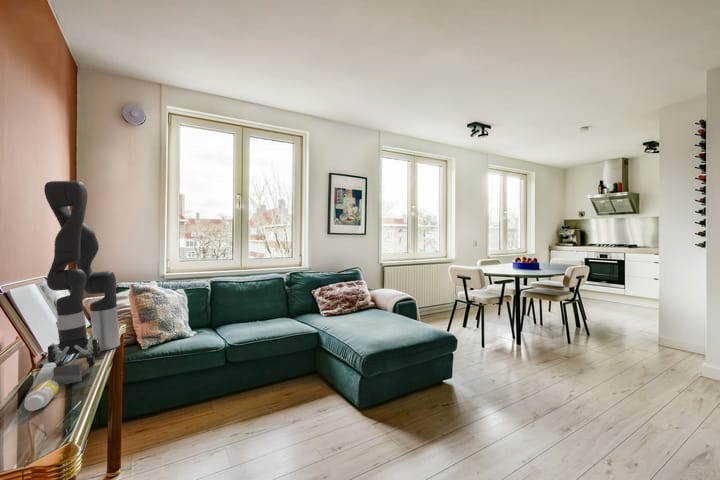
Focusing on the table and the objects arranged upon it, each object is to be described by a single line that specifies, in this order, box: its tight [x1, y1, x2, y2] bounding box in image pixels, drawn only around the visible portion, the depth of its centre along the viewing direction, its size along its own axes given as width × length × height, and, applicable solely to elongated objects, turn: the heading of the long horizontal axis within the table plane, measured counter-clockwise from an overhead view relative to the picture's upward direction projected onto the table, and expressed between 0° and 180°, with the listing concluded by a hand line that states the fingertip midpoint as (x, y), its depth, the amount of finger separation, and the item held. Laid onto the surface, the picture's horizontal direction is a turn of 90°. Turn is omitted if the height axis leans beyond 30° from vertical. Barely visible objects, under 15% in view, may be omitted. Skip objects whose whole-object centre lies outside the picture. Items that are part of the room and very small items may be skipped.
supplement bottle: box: [23, 379, 60, 412], centre depth 100 cm, size 6×6×10 cm
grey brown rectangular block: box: [52, 356, 89, 386], centre depth 120 cm, size 13×7×6 cm, turn 22°
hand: (76, 369), depth 121 cm, fingers open, 8 cm apart
